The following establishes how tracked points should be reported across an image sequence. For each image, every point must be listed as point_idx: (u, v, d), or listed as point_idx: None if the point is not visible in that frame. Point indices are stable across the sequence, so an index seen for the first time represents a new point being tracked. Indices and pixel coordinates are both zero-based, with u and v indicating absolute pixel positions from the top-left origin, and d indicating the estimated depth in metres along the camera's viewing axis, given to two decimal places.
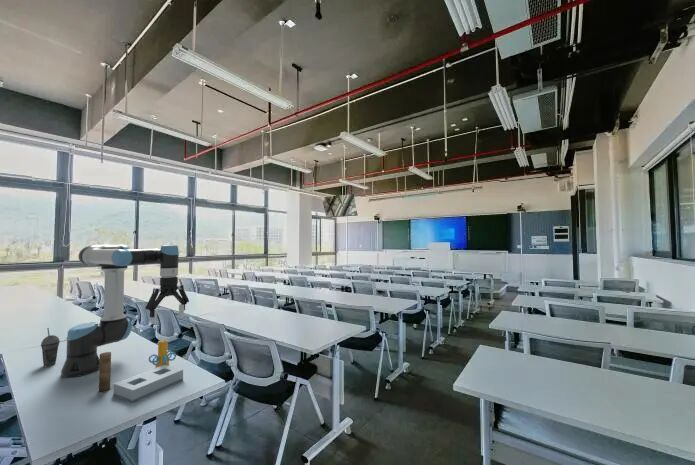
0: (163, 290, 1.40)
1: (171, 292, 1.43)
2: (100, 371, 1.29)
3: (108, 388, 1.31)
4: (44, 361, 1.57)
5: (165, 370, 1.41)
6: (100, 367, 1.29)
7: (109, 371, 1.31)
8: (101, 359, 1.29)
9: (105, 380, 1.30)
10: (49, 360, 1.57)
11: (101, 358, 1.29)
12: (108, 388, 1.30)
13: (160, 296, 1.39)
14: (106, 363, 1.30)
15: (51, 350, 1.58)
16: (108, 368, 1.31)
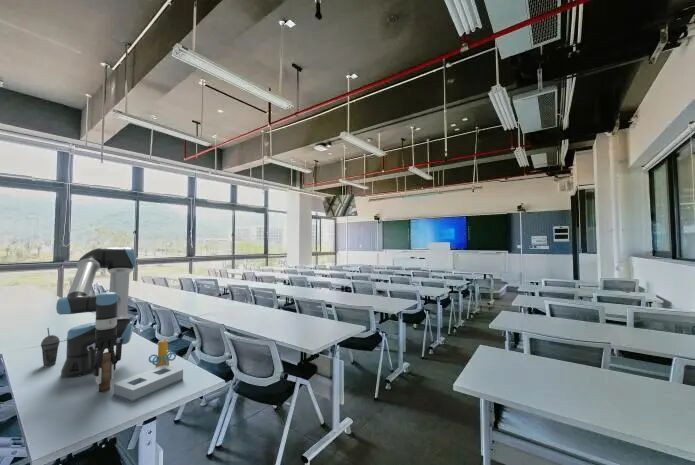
0: (98, 344, 1.28)
1: (108, 344, 1.32)
2: None
3: (108, 388, 1.31)
4: (44, 361, 1.57)
5: (165, 370, 1.41)
6: (100, 367, 1.29)
7: (109, 371, 1.31)
8: (101, 359, 1.29)
9: (105, 380, 1.30)
10: (49, 360, 1.57)
11: None
12: (108, 388, 1.30)
13: (98, 352, 1.29)
14: (106, 362, 1.30)
15: (51, 350, 1.58)
16: (108, 368, 1.31)
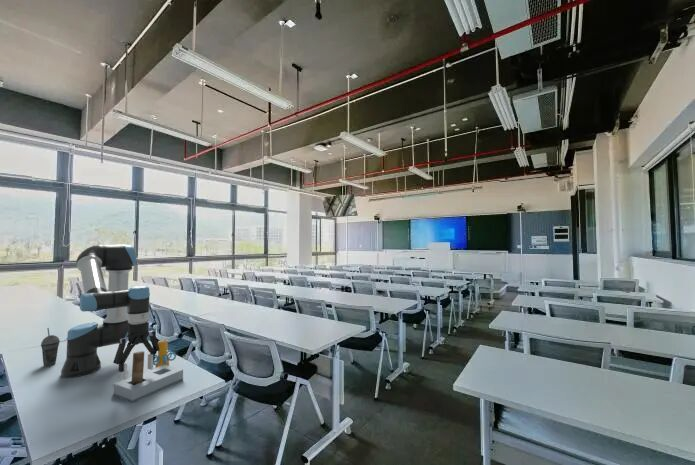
0: (131, 339, 1.26)
1: (141, 339, 1.29)
2: (133, 371, 1.27)
3: None
4: (44, 361, 1.57)
5: (165, 370, 1.41)
6: (133, 367, 1.27)
7: (142, 371, 1.29)
8: (135, 358, 1.27)
9: (138, 380, 1.27)
10: (49, 360, 1.57)
11: (135, 357, 1.27)
12: None
13: (129, 346, 1.25)
14: (140, 362, 1.28)
15: (51, 350, 1.58)
16: (141, 368, 1.28)
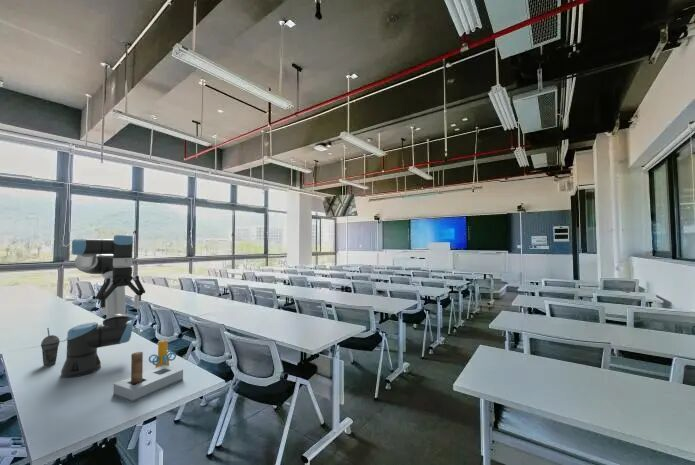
0: (115, 280, 1.38)
1: (124, 282, 1.42)
2: (132, 371, 1.26)
3: None
4: (44, 361, 1.57)
5: (165, 370, 1.41)
6: (132, 367, 1.27)
7: (141, 371, 1.28)
8: (133, 359, 1.27)
9: (137, 380, 1.27)
10: (49, 360, 1.57)
11: (133, 358, 1.27)
12: None
13: (112, 286, 1.38)
14: (138, 363, 1.27)
15: (51, 350, 1.58)
16: (140, 368, 1.28)
